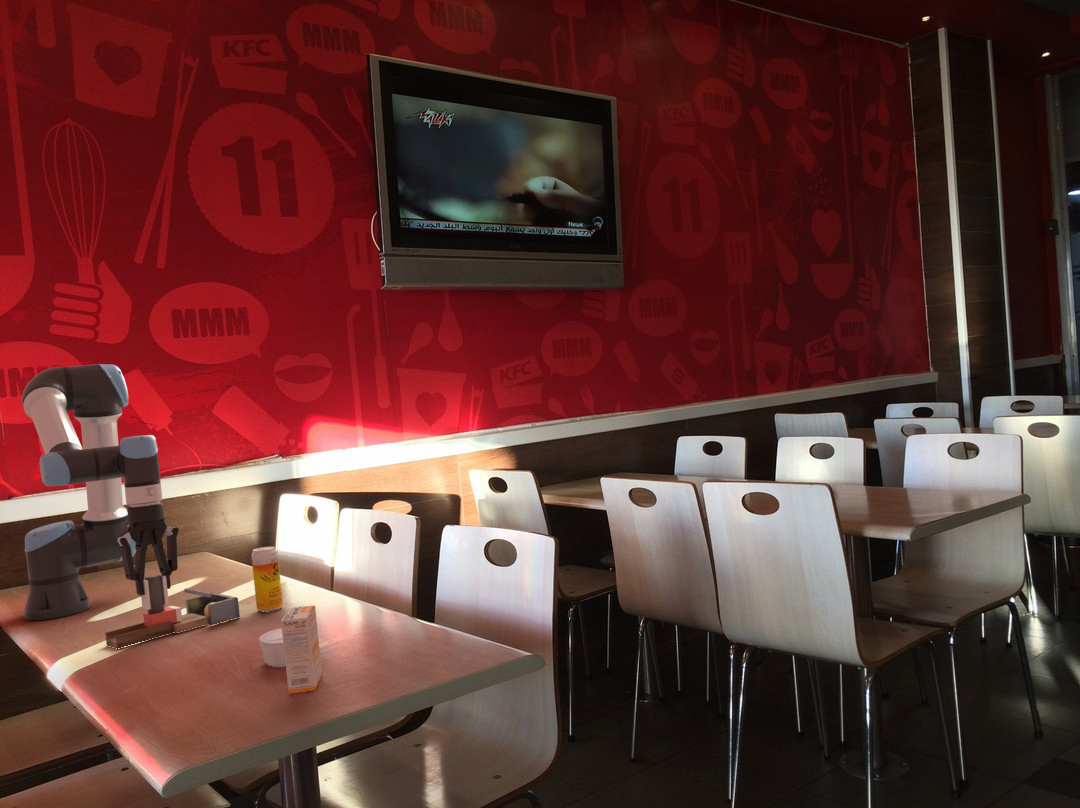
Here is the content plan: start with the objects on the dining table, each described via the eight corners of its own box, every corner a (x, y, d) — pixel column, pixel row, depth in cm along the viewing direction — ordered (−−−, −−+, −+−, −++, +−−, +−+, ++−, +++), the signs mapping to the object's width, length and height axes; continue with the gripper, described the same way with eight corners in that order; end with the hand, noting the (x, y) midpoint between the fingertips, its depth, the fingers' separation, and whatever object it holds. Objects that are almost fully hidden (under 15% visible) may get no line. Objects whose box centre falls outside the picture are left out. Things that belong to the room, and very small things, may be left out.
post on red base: (144, 626, 200) (139, 578, 200) (173, 618, 205) (168, 571, 204) (153, 628, 197) (148, 579, 197) (182, 620, 202) (177, 573, 202)
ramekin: (288, 672, 164) (285, 644, 164) (248, 666, 170) (245, 639, 170) (332, 653, 174) (329, 627, 174) (292, 648, 180) (290, 623, 179)
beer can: (275, 612, 211) (269, 550, 210) (252, 613, 212) (246, 552, 211) (287, 605, 217) (281, 545, 216) (265, 606, 218) (258, 546, 217)
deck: (160, 629, 204) (159, 621, 204) (191, 621, 210) (190, 613, 210) (176, 634, 199) (175, 625, 199) (207, 625, 204) (206, 616, 204)
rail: (106, 646, 194) (105, 632, 194) (160, 631, 203) (158, 618, 203) (118, 649, 190) (116, 636, 190) (172, 634, 199) (170, 621, 199)
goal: (187, 620, 211) (184, 588, 211) (215, 612, 216) (211, 582, 216) (212, 626, 203) (208, 593, 203) (239, 618, 208) (236, 586, 208)
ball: (218, 613, 213) (204, 621, 210) (213, 598, 212) (198, 606, 209) (227, 615, 210) (212, 623, 207) (222, 600, 209) (207, 608, 207)
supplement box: (296, 678, 160) (288, 607, 159) (323, 675, 160) (315, 604, 160) (287, 694, 152) (279, 619, 151) (315, 691, 152) (307, 616, 152)
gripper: (114, 510, 190) (125, 618, 191) (187, 498, 203) (198, 599, 203) (100, 509, 195) (111, 614, 196) (172, 497, 208) (183, 595, 208)
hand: (155, 606), depth 200 cm, fingers closed on post on red base, 3 cm apart
